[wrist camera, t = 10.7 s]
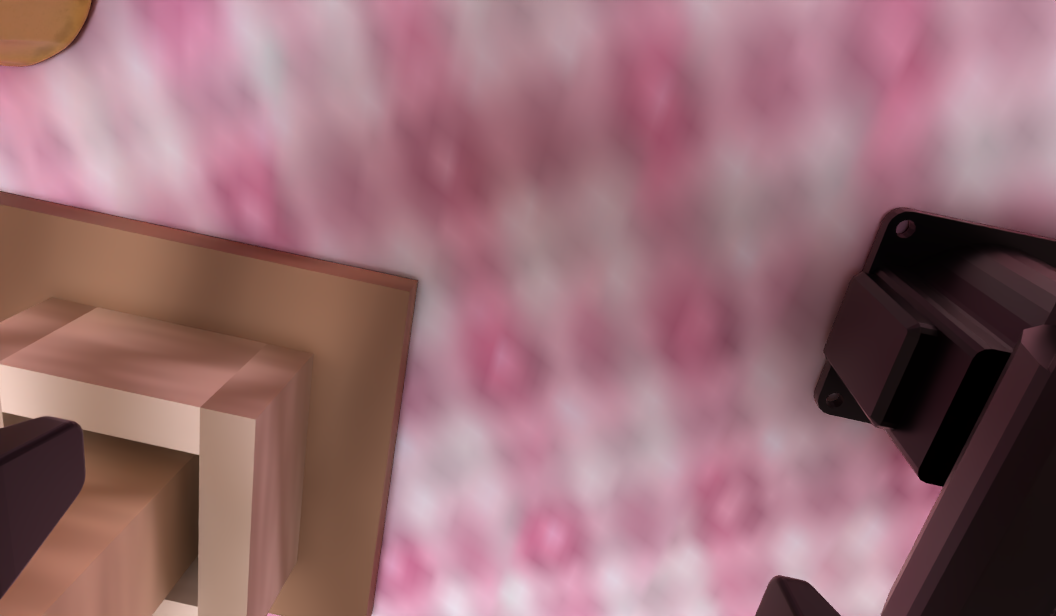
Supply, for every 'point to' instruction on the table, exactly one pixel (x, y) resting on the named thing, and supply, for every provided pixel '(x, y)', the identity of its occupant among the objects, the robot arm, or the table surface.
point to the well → (219, 390)
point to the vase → (38, 28)
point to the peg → (116, 535)
